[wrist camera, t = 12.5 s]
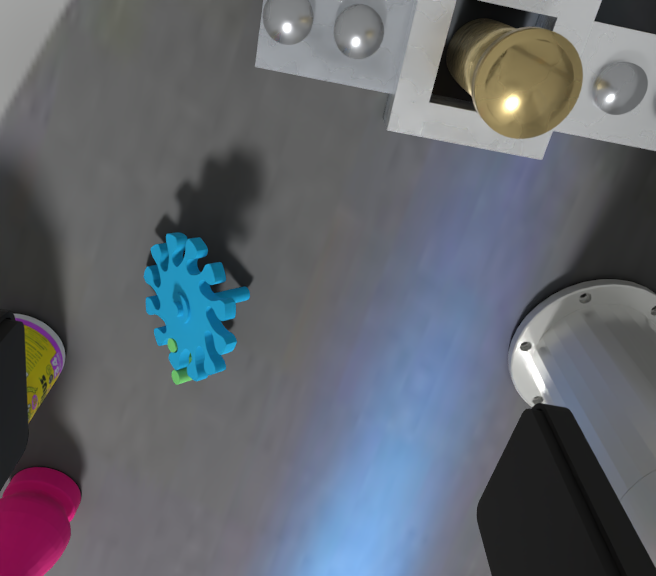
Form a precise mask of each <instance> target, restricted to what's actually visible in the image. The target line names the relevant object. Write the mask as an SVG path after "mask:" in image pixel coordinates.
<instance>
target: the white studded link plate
mask: <svg viewBox="0 0 656 576" xmlns="http://www.w3.org/2000/svg"><path fill="white" fill-rule="evenodd" d="M479 1H483V2H488V3H492V4H497V5H502V6H506V7H511V8H515V9H520V10H525V11H529V12H534V13H539V14H540V15H539V18H538V21H537V24H536V27H540V28H544V29H547V30H550V31H553V32H556V33H558V34H560V35H562V36H563V37H565V38H566V39H567V40H569V41H570V42H571V43H572V45H573V46H574V47H575V49H576V50H577V52H578V54H579V57H580V59H581V63H582V68H583V82H582V88H581V91H580V95H579V97H578V100H577V102H576V104H575V106H574V107H573V109H572V110H571V112H570V113H569V114H568V116H567V117H566V118H565V119H564V120H563V121H562V122H561V123H560V124H559V125H557V126H556V127H555V128H553V129H552V130H550V131H548V132H546V133H544V134H542V135H539V136H536V137H533V138H527V139H515V138H509V137H506V136H503V135H501V134H499V133H497V132H495V131H494V130H493V129H492V128H490V127H489V126H488V125H487V124H486V123H485V122H484V120H483V119H482V118H481V117H480V116H479V114H478V113H477V111H476V109H475V106H474V103H473V102H469V101H464V100H459V99H454V98H449V97H444V96H439V95H434V94H431V93H432V90H433V86H434V82H435V78H436V75H437V71H438V67H439V63H440V60H441V56H442V52H443V48H444V45H445V41H446V37H447V33H448V30H449V26H450V22H451V19H452V15H453V11H454V7H455V4H456V0H263V7H262V16H261V24H260V32H259V40H258V48H257V56H256V64H255V67H259V68H264V69H269V70H274V71H279V72H284V73H289V74H294V75H299V76H304V77H309V78H314V79H319V80H324V81H329V82H334V83H339V84H344V85H349V86H354V87H359V88H365V89H370V90H375V91H380V92H385V93H389V94H388V98H387V102H386V107H385V111H384V115H383V120H384V123H385V126H386V129H387V130H389V131H394V132H399V133H404V134H410V135H415V136H420V137H425V138H430V139H435V140H441V141H446V142H451V143H456V144H461V145H467V146H472V147H477V148H482V149H487V150H492V151H498V152H503V153H508V154H513V155H518V156H524V157H529V158H534V159H539V160H542V158H543V156H544V153H545V150H546V148H547V145H548V142H549V140H550V137H551V134H552V132H553V131H557V132H562V133H567V134H572V135H577V136H582V137H587V138H593V139H598V140H603V141H608V142H613V143H618V144H623V145H628V146H633V147H638V148H643V149H648V150H653V151H656V34H652V33H648V32H643V31H639V30H634V29H629V28H625V27H620V26H616V25H611V24H606V23H602V22H597V21H594V20H595V17H596V15H597V12H598V9H599V7H600V4H601V1H602V0H479Z"/></svg>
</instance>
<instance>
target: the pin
mask: <svg viewBox="0 0 656 576" xmlns="http://www.w3.org/2000/svg"><path fill="white" fill-rule="evenodd" d="M446 58H447V66H448V70H449V72H450V74H451V76H452V77H453V79H454V80H455V81H456V82H457V83H458V84H459V85H460V86H461V87H462V88H463V89H464V90H465V91H466V92H467V93H468V94H470V95H471V96H472V100H473V103H474V106H475V109H476V111H477V113H478V114H479V116H480V117H481V118H482V119H483V120H484V122H485V123H486V124H487V125H488V126H489V127H490V128H492V129H493V130H494V131H495V132H497V133H499V134H501V135H503V136H506V137H509V138H515V139H527V138H533V137H536V136H539V135H542V134H544V133H546V132H548V131H550V130H552V129H553V128H555V127H556V126H557V125H559V124H560V123H561V122H562V121H563V120H564V119H565V118H566V117H567V116H568V114H569V113H570V112H571V110H572V109H573V107H574V106H575V104H576V102H577V100H578V97H579V95H580V91H581V88H582V82H583V68H582V63H581V59H580V57H579V54H578V52H577V50H576V49H575V47H574V46H573V45H572V43H571V42H570V41H569V40H567V39H566V38H565V37H563V36H562V35H560V34H558V33H556V32H553V31H550V30H547V29H544V28H540V27H522V28H518V29H517V28H514V27H512V26H509V25H506V24H504V23H501V22H498V21H496V20H493V19H488V18H480V19H475V20H472V21H470V22H468V23H466V24H464V25H463V26H462V27H461V28H460V29H459V30H458V31H457V32H456V33H455V34H454V36H453V37H452V39H451V41H450V43H449V46H448V50H447V57H446Z"/></svg>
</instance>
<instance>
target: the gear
mask: <svg viewBox="0 0 656 576" xmlns="http://www.w3.org/2000/svg"><path fill="white" fill-rule="evenodd" d="M184 250H185V256H184V259H183V252H184ZM207 253H208V248H207V246H206V244H205V243H204V241H203V240H202V239H201V238H200V237H198V238H191V239H188V240H187V236H186V235H185V234H183V233H179V232H176V233H168V234H167V235H166V243H162V244H156V245H154V246H153V247H152V248H151V254H152V256H153V258H154V260H155V262H156V264H157V265H153V266H147V268H146V270H145V273H144V279H145V281H146V283H147V284H149V285H150V286H152V288H153V289H154V290H155V292H156V294H157V295H155V296H151V297H146V311H147V313H148V314H149V315H153V314H156V315H158V316H159V317H160V318H162V320H163V321H164V322H165V324H166V326H163V327H159V328H155V329H154V334H155V338H156V341H157V344H158V345H159V346H162V345H165V344H168V348H169V350H170V351H171V353H170V354H169V360H170V363H171V364H172V366H173V367H174V369H175V370H173V371H172V379H173V381H174V383H175V384H181V383H184V382H187V381H189V380H192V379H193V380H195V381H199V380H202V379H205V378H207V377H208V375H212V374H215V373H218V372H221V371H224V370H226V364H225V361H224V359H223V358H222V356H221V355H223V354H226V353H229V352H231V351H233V349H234V348H235V346H236V343H237V340H236V338H235V336H234V335H233V334H232V333H231V332H229V331H228V330H227V329H226V328H225V327H224V326H223V324H222V323H221V321H225V320H229V319H233V318H235V314H236V303H237V302H241V301H245V300H248V299H249V297H250V292H249V290H248V288H247V287H245V286H244V287H239V288H235V289H230V290H226V291H222V292H217V293H214V292H213V291H212V290H211V288H210V285H214V284H219V283H223V282H225V281H226V275H225V271H224V268H223V265H222V263H221V262H216V263H210V264H207V265H205V267H204V269H203V271H202V272H200V271H199V269H198V266H197V261H198V259H199V258H202V257H206V255H207ZM220 320H221V321H220Z"/></svg>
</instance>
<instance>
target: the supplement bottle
mask: <svg viewBox="0 0 656 576" xmlns="http://www.w3.org/2000/svg"><path fill="white" fill-rule="evenodd" d="M14 316H15V320H16V321H21V322H23V324H24V329H25V353H26V378H27V404H28V423H29V422H30V420H31V419H32V417H33V416H34V414H35V413H36V411H37V409H38V408H39V406H40V405H41V403H42V402H43V400H44V398H45V397H46V396H47V394H48V392H49V391H50V389H51V388H52V386H53V384H54V383H55V381H56V380H57V378H58V376H59V375H60V373H61V371H62V369H63V367H64V364H65V350H64V346H63V344H62V341H61V340H60V338H59V336H58V335H57V334H56V333H55V332H54V331H53V330H52V329H51V328H50V327H49V326H48V325H46V324H45V323H43V322H41V321H39V320H37V319H35V318H33V317H30V316H27V315H22V314H14Z"/></svg>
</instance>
